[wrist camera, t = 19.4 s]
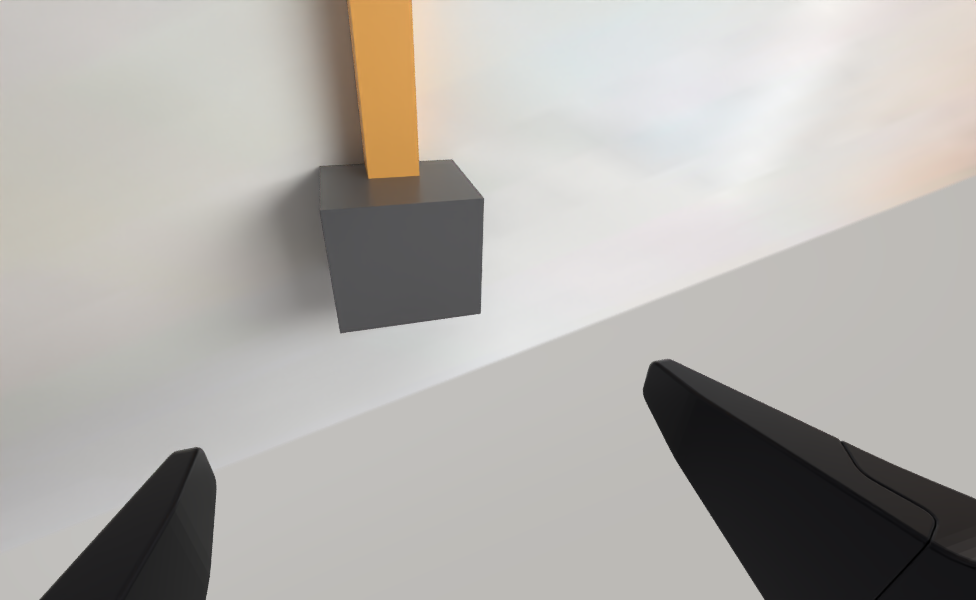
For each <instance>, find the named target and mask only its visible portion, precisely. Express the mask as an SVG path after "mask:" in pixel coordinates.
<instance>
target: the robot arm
mask: <svg viewBox="0 0 976 600" xmlns="http://www.w3.org/2000/svg"><path fill="white" fill-rule="evenodd" d="M643 395H644V398H645V401H646V402H647V405H648V407H649V409H650V411H651V413H652V415H653V417H654V419H655V420H656V422H657V425H658V427H659V429H660V431H661V432H662V435H663V436H664V439H665V441H666V443H667V444H668V446H669V448H670V450H671V452H672V454H673V456H674V458H675V459H676V461H677V463H678V464H679V466H680V468H681V469H682V471H683V472H684V474H685V475H686V477H687V479H688V480H689V482H690V483H691V485H692V486H693V488H694V490H695V491H696V493H697V494H698V496H699V497H700V499H701V500H702V502H703V504H704V505H705V507H706V508H707V510H708V511H709V513H710V515H711V516H712V518H713V520H714V521H715V523H716V524H717V526H718V527H719V529H720V531H721V532H722V534H723V535H724V537H725V538H726V540H727V541H728V543H729V545H730V546H731V548H732V549H733V551H734V552H735V554H736V556H737V557H738V559H739V560H740V562H741V563H742V565H743V566H744V568H745V570H746V571H747V573H748V574H749V576H750V578H751V579H752V581H753V582H754V584H755V585H756V587H757V589H758V590H759V592H760V593H761V595H762V596H763V598H764V600H976V499H975V498H972V497H970V496H968V495H965V494H963V493H960V492H958V491H956V490H953V489H951V488H948V487H946V486H943V485H941V484H938V483H936V482H934V481H931V480H929V479H927V478H924V477H922V476H919V475H917V474H915V473H912V472H910V471H908V470H905V469H903V468H900V467H898V466H896V465H893V464H891V463H889V462H887V461H885V460H883V459H880V458H878V457H876V456H874V455H872V454H870V453H868V452H865V451H863V450H861V449H859V448H857V447H855V446H853V445H851V444H849V443H846V442H844V441H841V442H840V440H839V439H838V438H836V437H834V436H831V435H829V434H827V433H825V432H823V431H821V430H818V429H817V428H815V427H812V426H810V425H808V424H806V423H804V422H802V421H800V420H798V419H796V418H793V417H791V416H789V415H787V414H785V413H783V412H781V411H779V410H777V409H774V408H772V407H770V406H768V405H766V404H764V403H762V402H760V401H757V400H755V399H753V398H751V397H749V396H747V395H745V394H743V393H741V392H738V391H736V390H734V389H732V388H730V387H728V386H726V385H724V384H722V383H720V382H717V381H715V380H713V379H711V378H709V377H707V376H705V375H703V374H701V373H698V372H696V371H694V370H692V369H690V368H688V367H686V366H684V365H682V364H679V363H677V362H675V361H673V360H671V359H664V360H658V361H654V362H652V363H651V364H650V366H649V369H648V372H647V376H646V380H645V383H644V387H643ZM215 502H216V479H215V476H214V473H213V471H212V469H211V466H210V464H209V462H208V459H207V457H206V455H205V453H204V451H203V450H202V449H201V448H199V447H195V448H190V449H184V450H179V451H176V452H174V453H172V454H171V455H170V456H169V457H168V458H167V459H166V460H165V461H164V462H163V464H162V465H161V466H160V467H159V468H158V469H157V470H156V471H155V472H154V473H153V475H152V476H151V477H150V478H149V479H148V480H147V481H146V482H145V483H144V485H143V486H142V487H141V488H140V489H139V490H138V491H137V492H136V493H135V495H134V496H133V497H132V498H131V499H130V500H129V501H128V502H127V503H126V504H125V506H124V507H123V508H122V509H121V510H120V511H119V512H118V513H117V514H116V516H115V517H114V518H113V519H112V520H111V521H110V522H109V523H108V524H107V525H106V527H105V528H104V529H103V530H102V531H101V532H100V533H99V534H98V536H97V537H96V538H95V539H94V540H93V541H92V542H91V543H90V544H89V545H88V547H87V548H86V549H85V550H84V551H83V552H82V553H81V554H80V555H79V556H78V558H77V559H76V560H75V561H74V562H73V563H72V564H71V566H69V568H68V569H67V570H66V571H65V572H64V573H63V574H62V575H61V576H60V577H59V579H58V580H57V581H56V582H55V583H54V584H53V585H52V586H51V588H50V589H49V590H48V591H47V592H46V593H45V594H44V595H43V596H42V597H41V599H40V600H206V595H207V590H208V584H209V578H210V568H211V556H212V543H213V529H214V516H215Z"/></svg>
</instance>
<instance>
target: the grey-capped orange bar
mask: <svg viewBox="0 0 976 600" xmlns="http://www.w3.org/2000/svg"><path fill="white" fill-rule="evenodd" d="M347 5H348V14H349V24H350V33H351V42H352V52H353V61H354V70H355V79H356V89H357V98H358V107H359V117H360V126H361V135H362V144H363V154H364V163H365V164H355V165H335V166H320V215H321V221H322V227H323V233H324V239H325V245H326V251H327V257H328V263H329V269H330V275H331V281H332V287H333V293H334V299H335V305H336V311H337V317H338V323H339V329H340V333H346V332H353V331H360V330H367V329H374V328H381V327H388V326H395V325H403V324H410V323H417V322H424V321H431V320H438V319H445V318H452V317H460V316H467V315H474V314H481V280H482V246H483V212H484V198H483V197H482V195H481V194H480V193H479V192H478V190H477V189H476V188H475V187H474V186H473V184H472V183H471V182H470V181H469V179H468V178H467V177H466V176H465V174H464V173H463V172H462V171H461V170H460V168H459V167H458V166H457V165H456V163H455V162H454V161H453V160H434V161H419V153H418V131H417V109H416V87H415V65H414V44H413V22H412V0H347Z"/></svg>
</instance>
